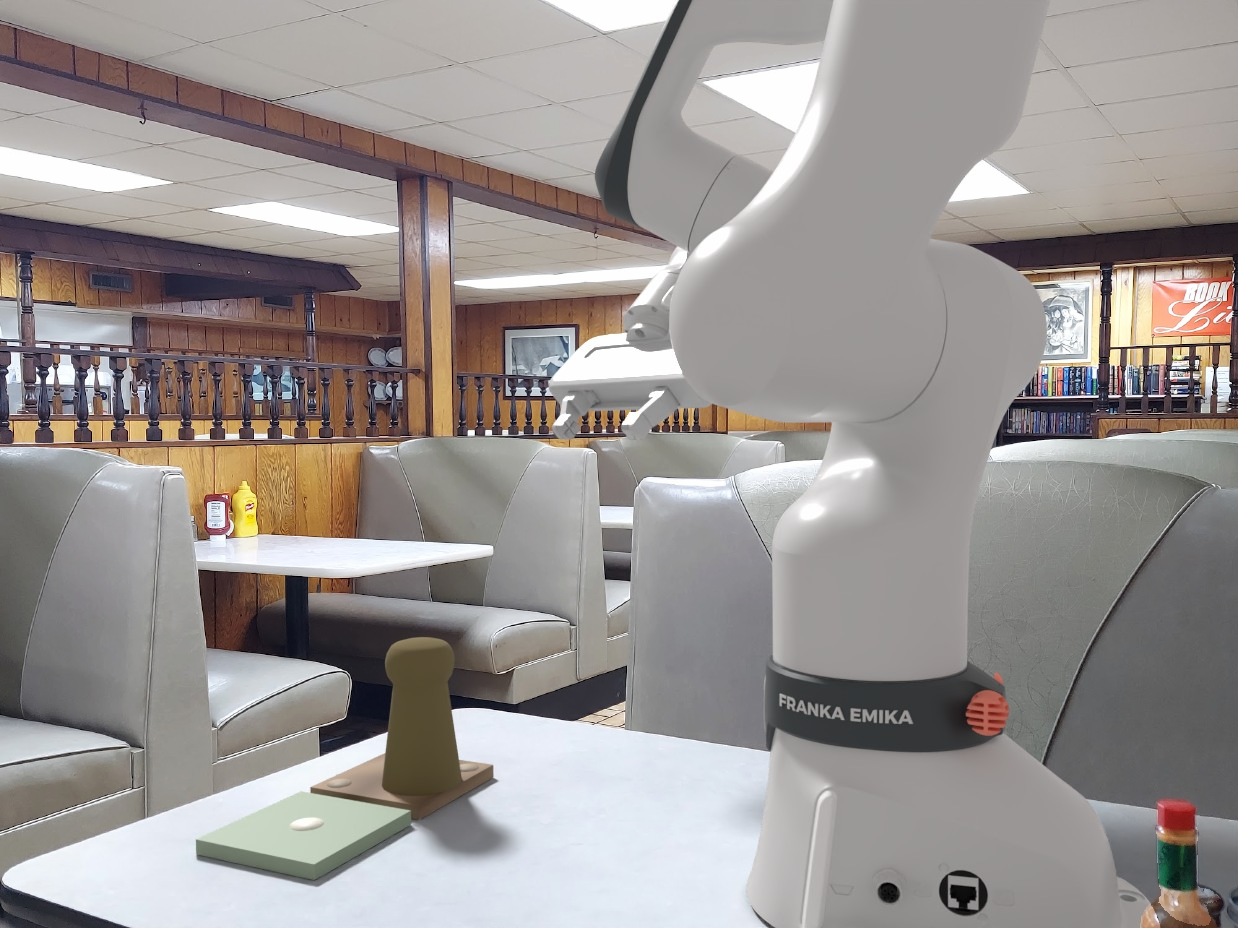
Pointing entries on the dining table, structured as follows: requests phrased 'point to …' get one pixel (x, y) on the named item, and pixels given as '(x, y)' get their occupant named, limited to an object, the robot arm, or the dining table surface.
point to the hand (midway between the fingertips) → (594, 435)
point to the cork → (420, 719)
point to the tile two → (368, 788)
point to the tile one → (304, 834)
